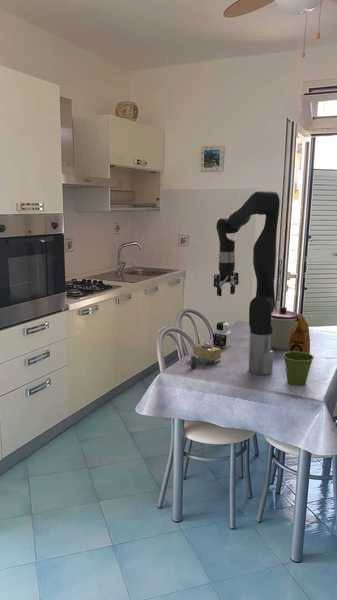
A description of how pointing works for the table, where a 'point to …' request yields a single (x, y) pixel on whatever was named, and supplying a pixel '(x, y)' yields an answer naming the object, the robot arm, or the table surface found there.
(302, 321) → the coffee package
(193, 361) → the stand rod
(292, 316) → the canister
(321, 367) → the table surface
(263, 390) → the table surface
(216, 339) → the medicine bottle
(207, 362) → the hub
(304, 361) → the plant pot
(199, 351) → the yellow oblong bowl
